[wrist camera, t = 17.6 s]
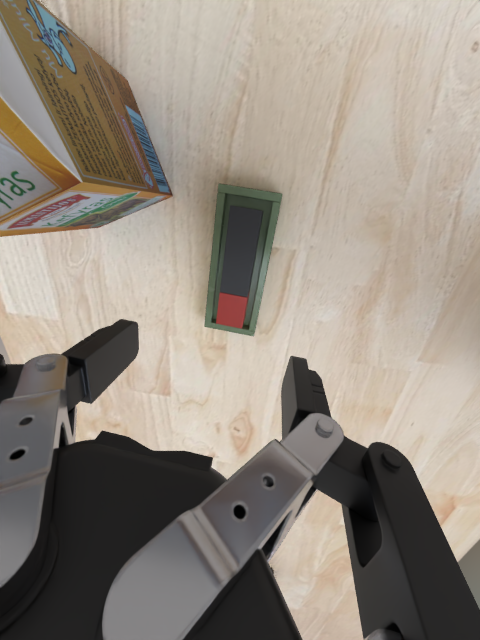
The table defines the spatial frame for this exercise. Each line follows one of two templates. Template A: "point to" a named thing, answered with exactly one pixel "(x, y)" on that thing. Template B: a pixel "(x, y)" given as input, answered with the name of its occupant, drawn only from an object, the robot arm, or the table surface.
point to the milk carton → (67, 131)
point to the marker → (238, 264)
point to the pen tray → (270, 215)
